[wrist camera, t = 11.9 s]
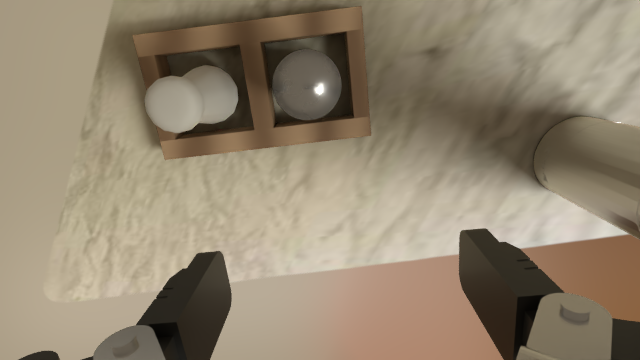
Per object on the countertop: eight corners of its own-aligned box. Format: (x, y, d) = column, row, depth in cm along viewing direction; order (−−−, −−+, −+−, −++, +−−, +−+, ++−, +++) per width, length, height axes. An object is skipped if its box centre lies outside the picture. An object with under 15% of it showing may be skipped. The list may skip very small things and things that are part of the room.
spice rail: (357, 10, 36) (361, 5, 34) (367, 130, 40) (371, 135, 37) (146, 37, 37) (132, 35, 34) (175, 153, 41) (164, 159, 38)
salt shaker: (252, 104, 39) (223, 124, 27) (208, 128, 40) (160, 158, 28) (223, 54, 38) (178, 51, 25) (178, 80, 38) (113, 89, 26)
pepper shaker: (332, 49, 38) (337, 44, 28) (337, 103, 39) (344, 115, 30) (279, 55, 38) (267, 53, 28) (287, 109, 40) (278, 124, 30)
